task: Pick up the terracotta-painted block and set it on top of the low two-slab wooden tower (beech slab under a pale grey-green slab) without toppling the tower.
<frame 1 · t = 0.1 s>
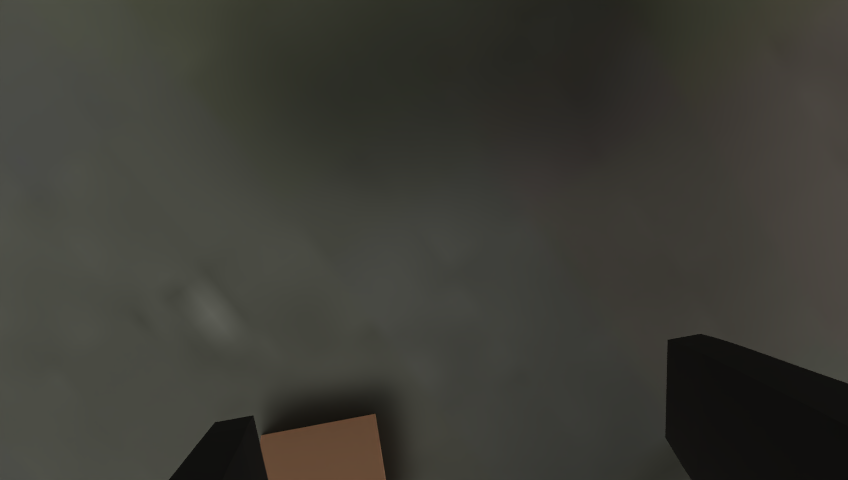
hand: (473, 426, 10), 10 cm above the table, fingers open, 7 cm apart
block: (328, 470, 22), on the table
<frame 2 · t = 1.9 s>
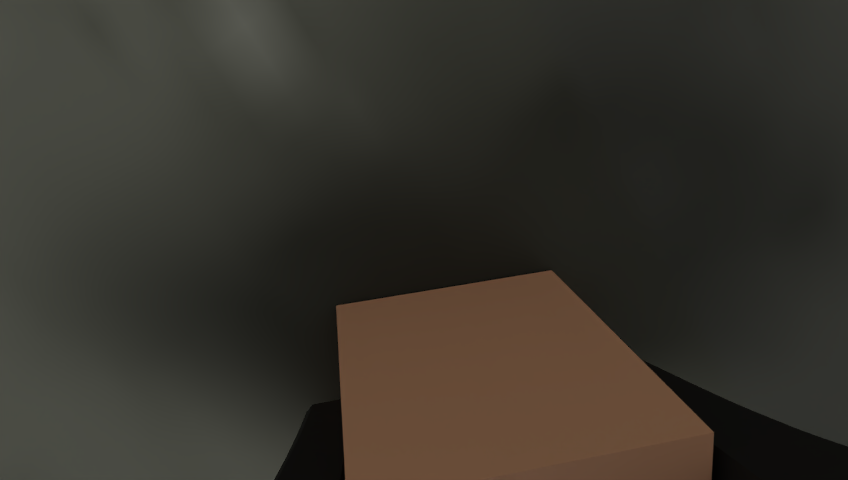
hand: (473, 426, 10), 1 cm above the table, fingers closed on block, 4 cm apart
block: (456, 382, 12), on the table, touching gripper
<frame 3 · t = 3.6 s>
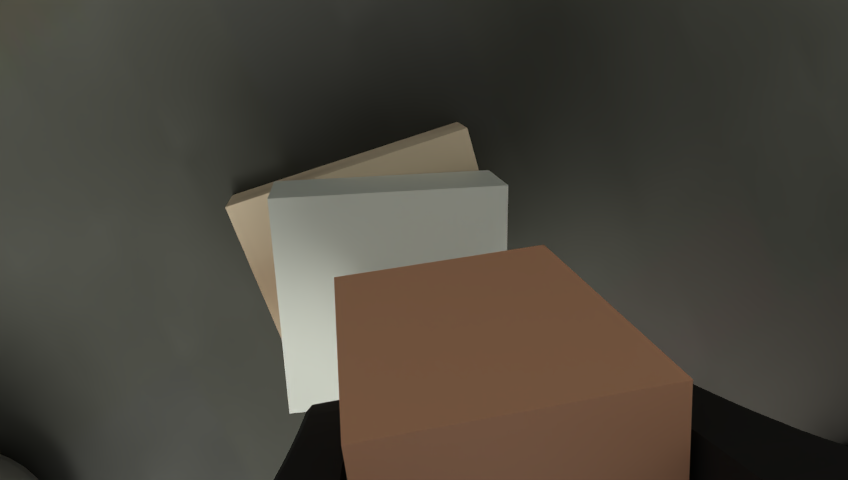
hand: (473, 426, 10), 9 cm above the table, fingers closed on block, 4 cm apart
bottom slab: (380, 256, 20), on the table
top slab: (388, 275, 18), point 1 cm above the table
block: (450, 355, 12), point 8 cm above the table, touching gripper
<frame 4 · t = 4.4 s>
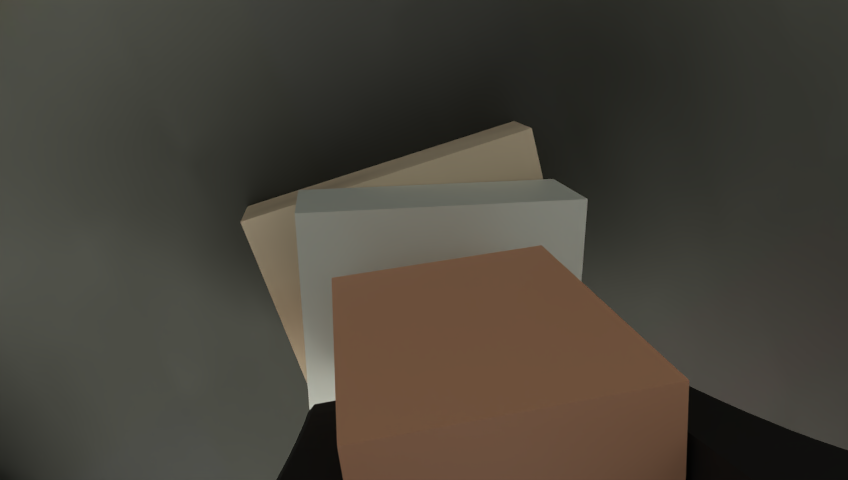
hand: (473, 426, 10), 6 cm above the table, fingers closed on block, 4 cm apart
bottom slab: (417, 277, 17), on the table
top slab: (430, 303, 15), point 1 cm above the table
block: (448, 355, 12), point 5 cm above the table, touching gripper
when the fingers open (6 cm above the table, at t = 4.6 s): block drops 1 cm, resting on top slab.
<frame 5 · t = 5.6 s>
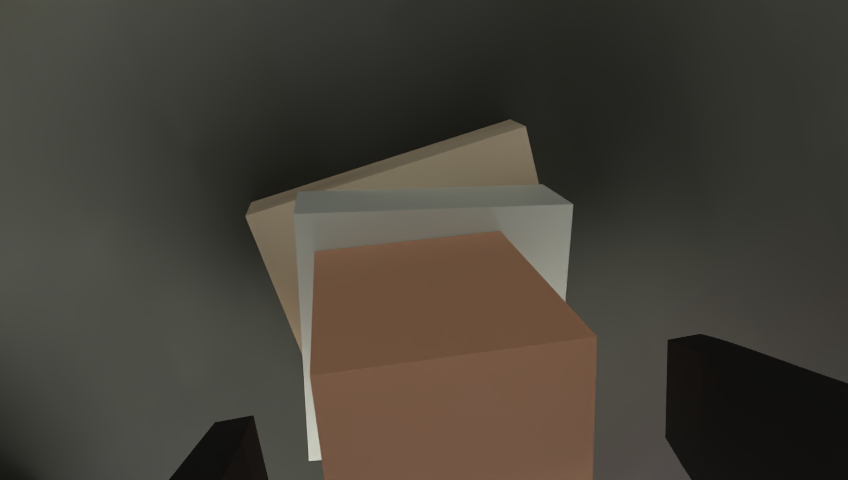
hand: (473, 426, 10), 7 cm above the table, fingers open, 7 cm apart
bottom slab: (416, 270, 18), on the table, touching top slab
top slab: (423, 301, 16), point 1 cm above the table, touching block, bottom slab
block: (415, 325, 14), point 3 cm above the table, touching top slab
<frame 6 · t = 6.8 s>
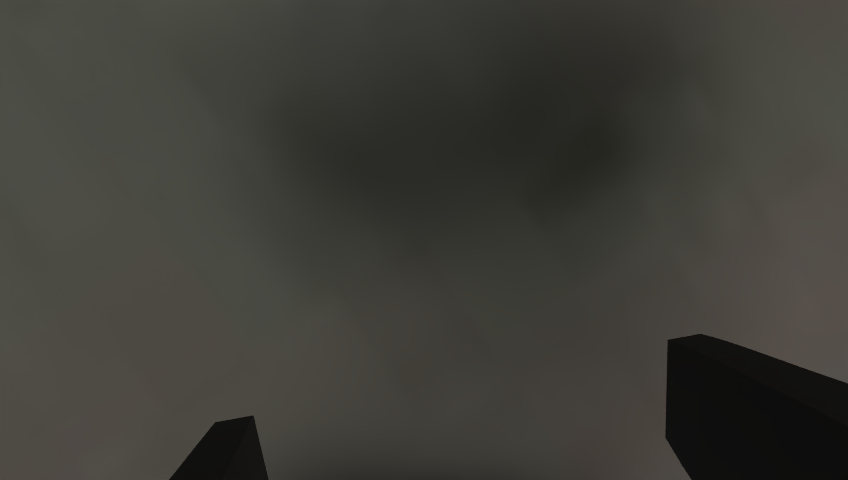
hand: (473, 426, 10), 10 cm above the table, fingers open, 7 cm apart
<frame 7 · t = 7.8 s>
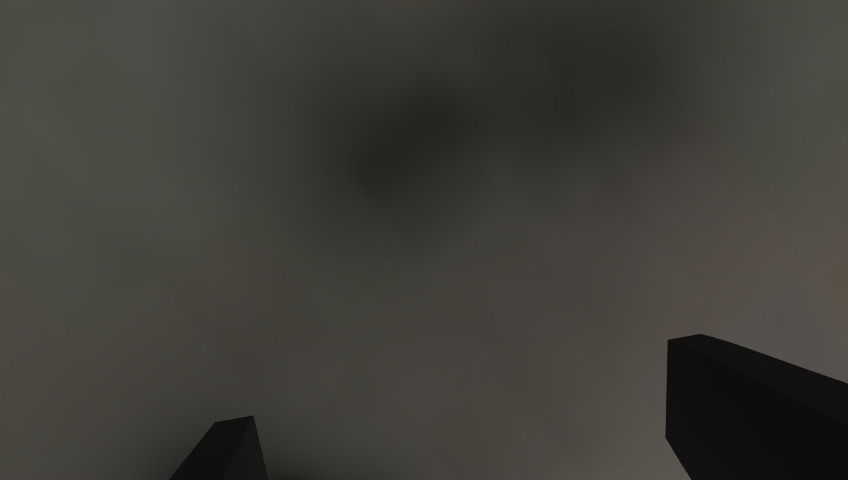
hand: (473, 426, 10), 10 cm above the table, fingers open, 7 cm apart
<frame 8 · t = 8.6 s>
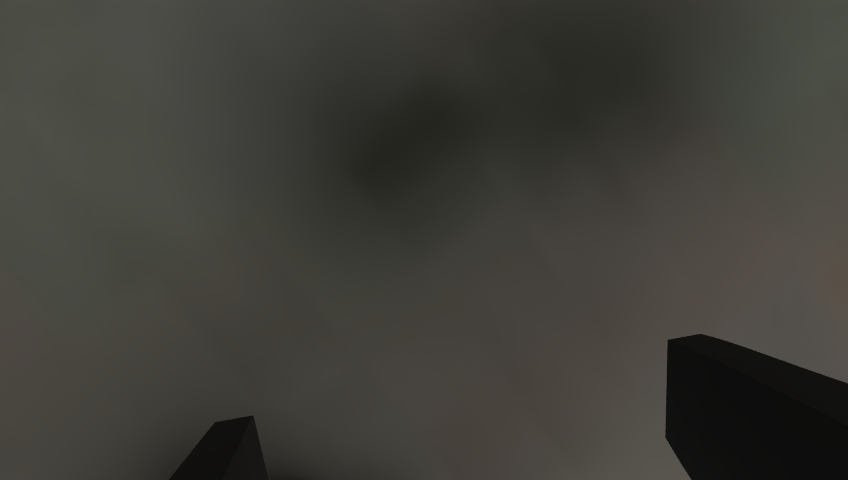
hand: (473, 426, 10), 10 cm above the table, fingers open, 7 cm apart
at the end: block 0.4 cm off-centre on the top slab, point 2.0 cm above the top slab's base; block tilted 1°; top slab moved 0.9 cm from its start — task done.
